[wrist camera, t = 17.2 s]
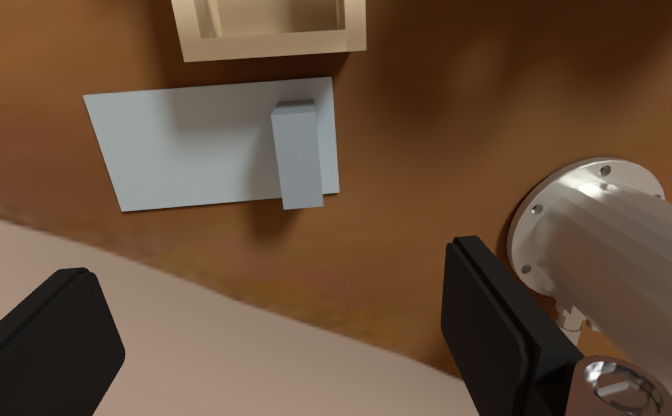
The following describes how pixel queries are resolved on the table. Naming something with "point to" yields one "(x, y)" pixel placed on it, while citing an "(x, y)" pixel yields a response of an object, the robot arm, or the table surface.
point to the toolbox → (268, 27)
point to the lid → (219, 143)
